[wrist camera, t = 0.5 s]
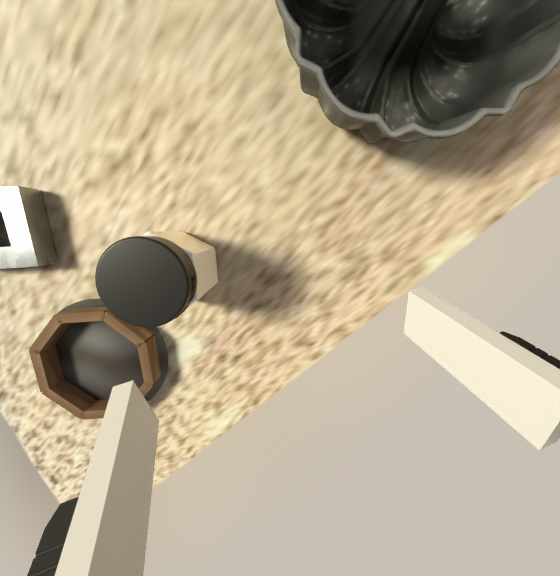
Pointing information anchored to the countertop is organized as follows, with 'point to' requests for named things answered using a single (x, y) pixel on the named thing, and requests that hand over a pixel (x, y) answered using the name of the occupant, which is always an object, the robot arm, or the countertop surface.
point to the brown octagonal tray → (95, 358)
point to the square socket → (25, 229)
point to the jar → (155, 276)
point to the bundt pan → (419, 60)
